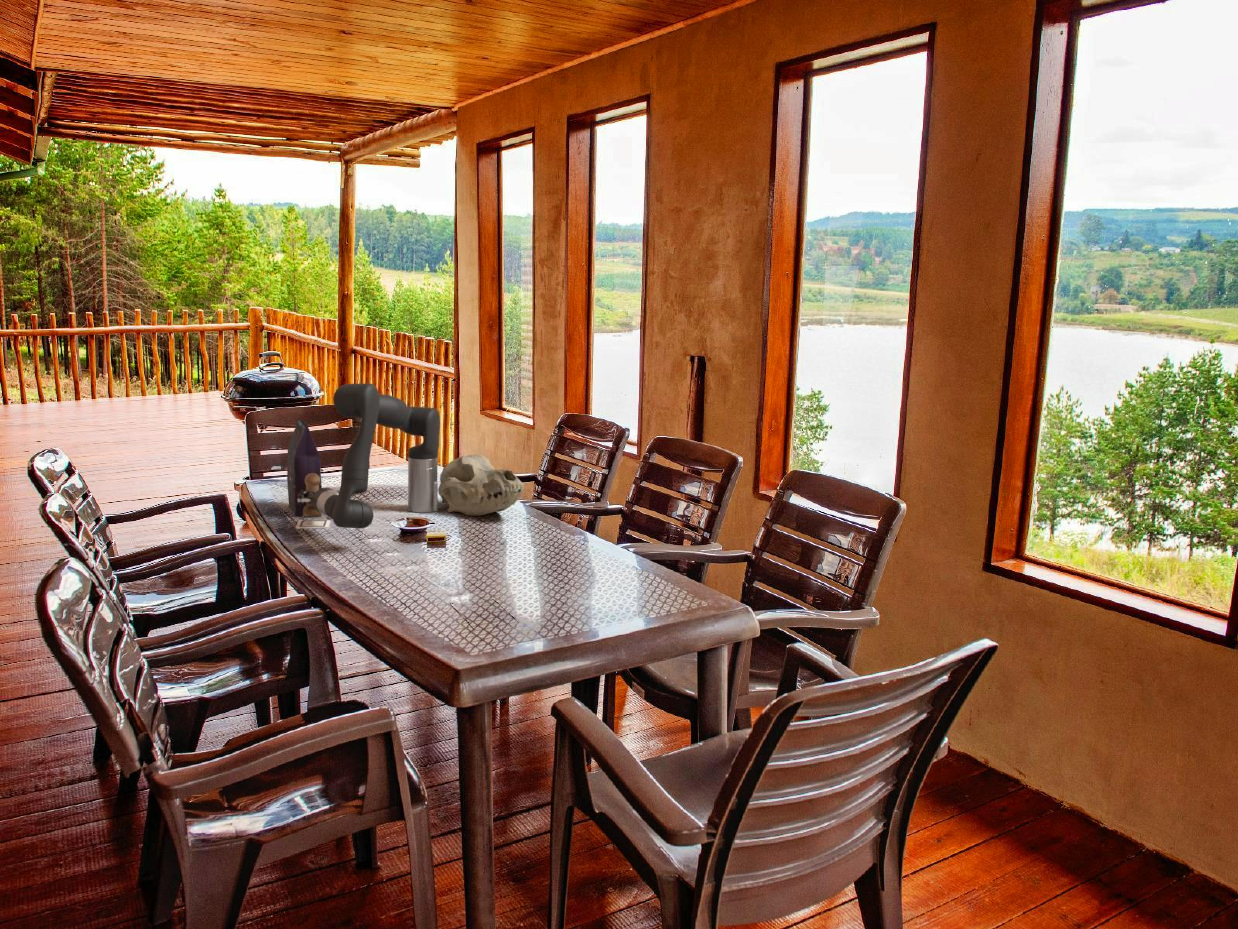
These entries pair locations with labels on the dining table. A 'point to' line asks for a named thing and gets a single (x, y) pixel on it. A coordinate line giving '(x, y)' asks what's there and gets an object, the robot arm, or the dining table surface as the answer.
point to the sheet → (313, 524)
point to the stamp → (313, 485)
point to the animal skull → (478, 486)
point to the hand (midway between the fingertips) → (309, 492)
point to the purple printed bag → (301, 465)
